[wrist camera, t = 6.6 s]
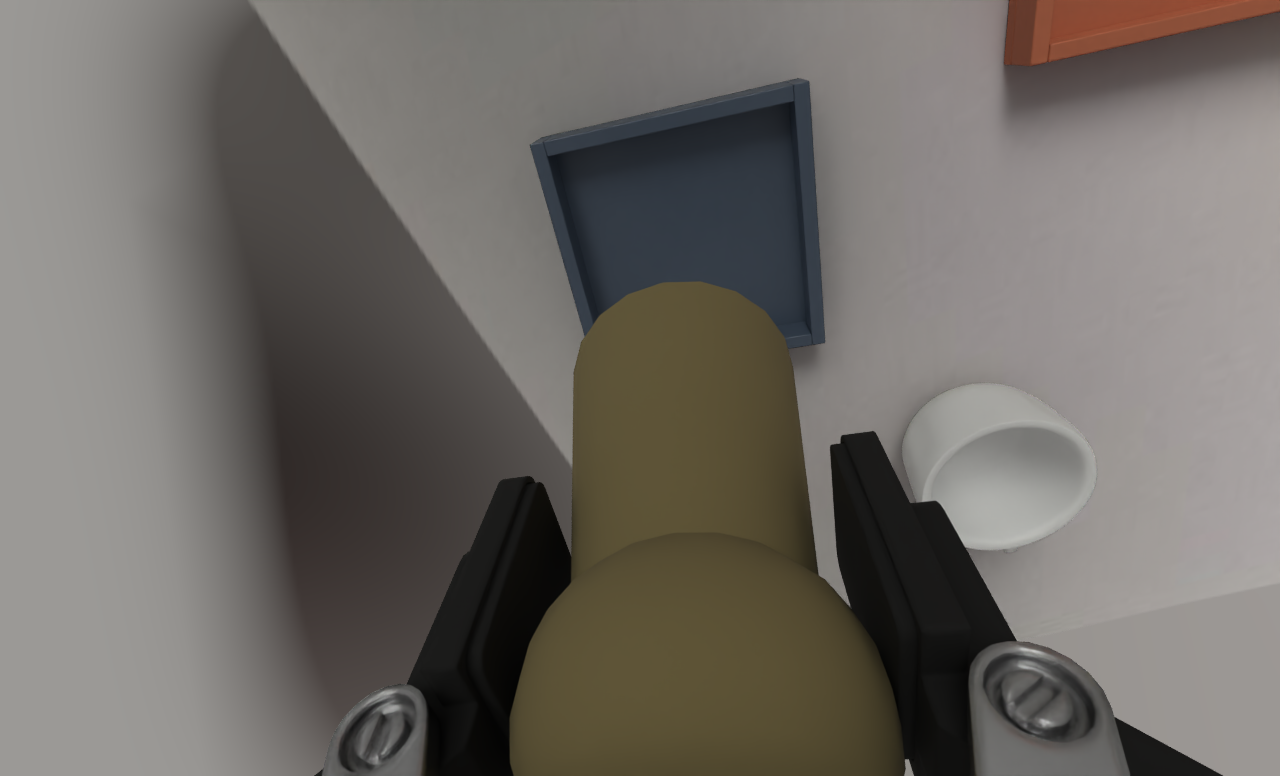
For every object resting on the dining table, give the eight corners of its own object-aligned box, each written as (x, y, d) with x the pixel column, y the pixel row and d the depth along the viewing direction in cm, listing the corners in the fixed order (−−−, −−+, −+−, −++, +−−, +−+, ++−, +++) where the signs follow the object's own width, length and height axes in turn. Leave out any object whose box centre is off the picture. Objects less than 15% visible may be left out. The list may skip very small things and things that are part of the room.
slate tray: (602, 359, 31) (596, 378, 29) (540, 137, 25) (529, 144, 24) (816, 324, 29) (825, 343, 27) (800, 77, 24) (809, 80, 22)
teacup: (871, 390, 31) (904, 452, 26) (1027, 339, 29) (1093, 396, 24) (911, 521, 35) (945, 593, 31) (1049, 484, 33) (1108, 556, 29)
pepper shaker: (568, 458, 17) (454, 945, 8) (580, 266, 14) (420, 687, 5) (765, 481, 18) (883, 985, 8) (819, 295, 15) (1107, 759, 5)
